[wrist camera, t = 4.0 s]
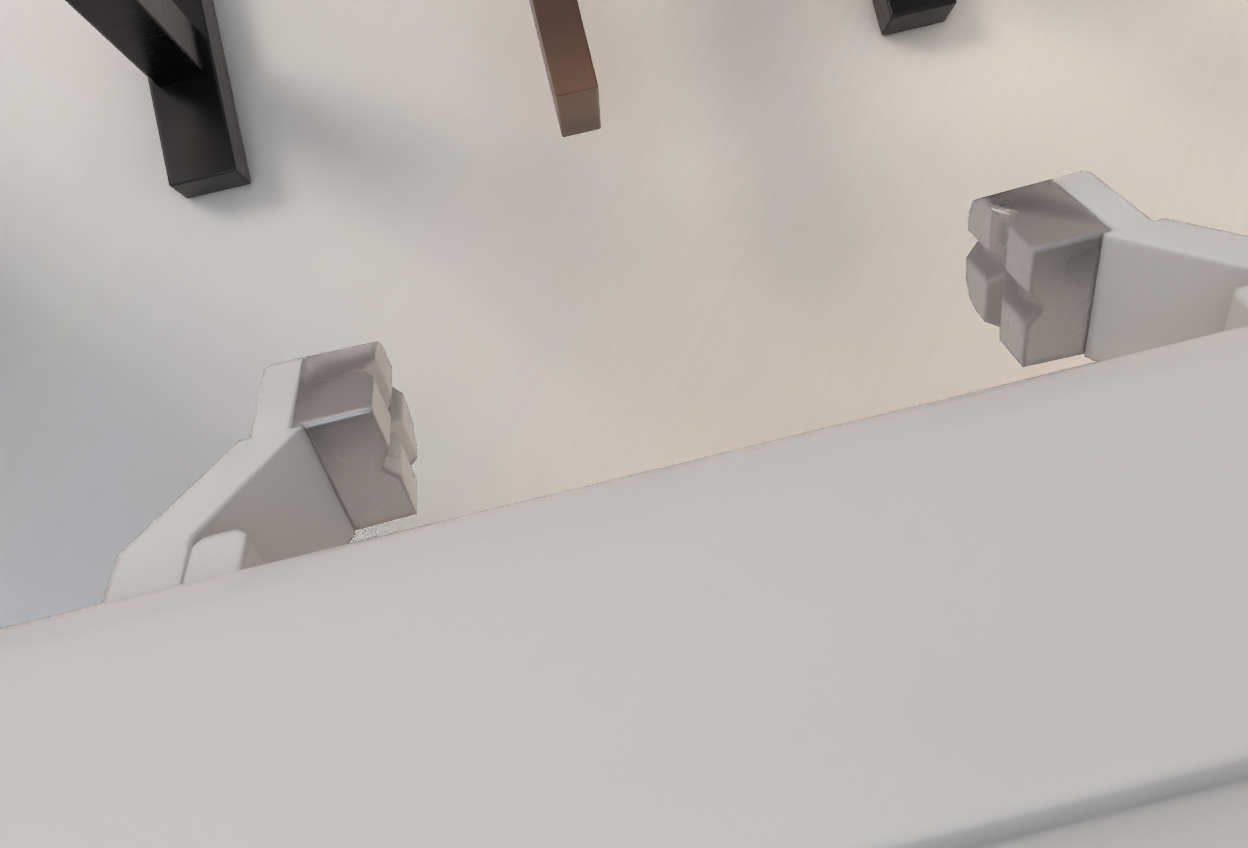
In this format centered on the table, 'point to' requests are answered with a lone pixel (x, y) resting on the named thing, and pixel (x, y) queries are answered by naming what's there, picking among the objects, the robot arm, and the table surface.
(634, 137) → the table surface
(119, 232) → the table surface
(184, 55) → the rail
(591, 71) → the hanger
